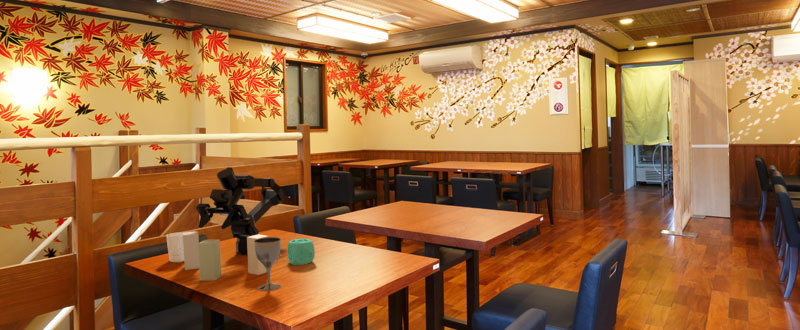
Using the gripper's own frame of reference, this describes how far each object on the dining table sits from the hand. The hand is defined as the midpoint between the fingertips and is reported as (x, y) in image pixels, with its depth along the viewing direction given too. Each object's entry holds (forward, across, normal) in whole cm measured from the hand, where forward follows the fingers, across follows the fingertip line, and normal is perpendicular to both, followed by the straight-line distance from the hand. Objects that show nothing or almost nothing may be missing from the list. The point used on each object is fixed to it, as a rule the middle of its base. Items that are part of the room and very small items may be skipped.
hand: (210, 227), depth 178 cm
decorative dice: (-3, +29, +19) cm, 35 cm away
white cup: (+3, -19, +16) cm, 25 cm away
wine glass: (+21, +32, +3) cm, 38 cm away
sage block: (+18, +8, +6) cm, 20 cm away
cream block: (+10, +20, +11) cm, 25 cm away
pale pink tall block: (+9, -7, +11) cm, 16 cm away
